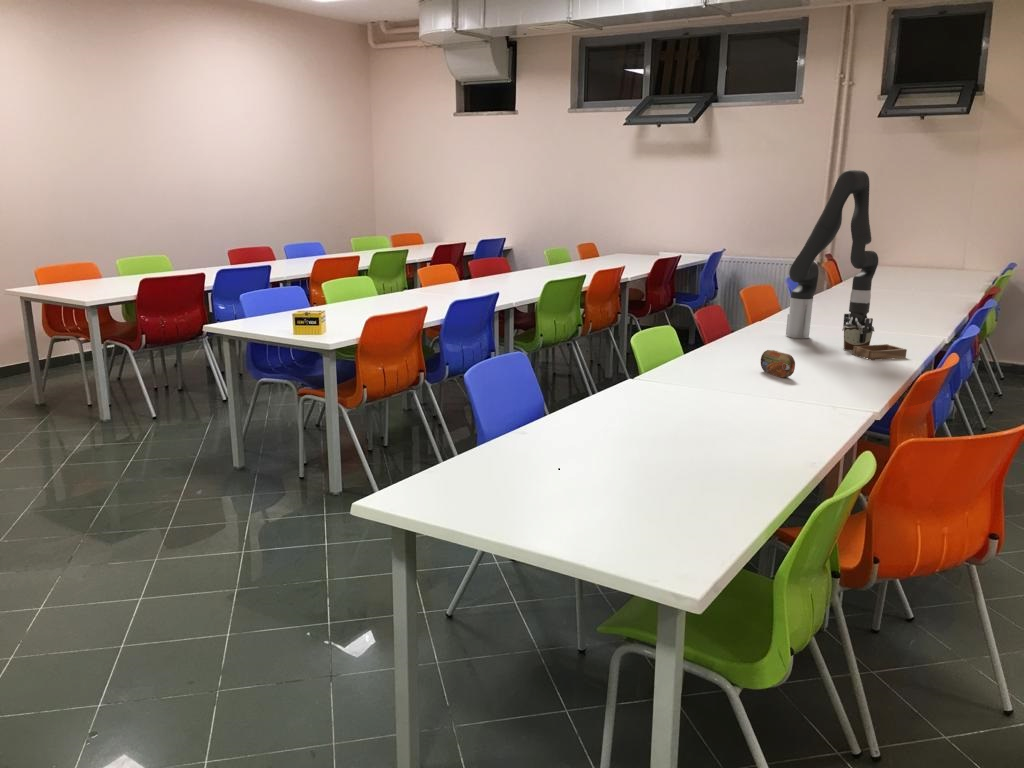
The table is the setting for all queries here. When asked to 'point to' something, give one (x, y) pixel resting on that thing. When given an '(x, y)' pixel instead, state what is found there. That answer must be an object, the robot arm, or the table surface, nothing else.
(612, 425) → the table surface
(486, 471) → the table surface
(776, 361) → the tin
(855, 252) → the robot arm
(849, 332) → the food container
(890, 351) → the holder
